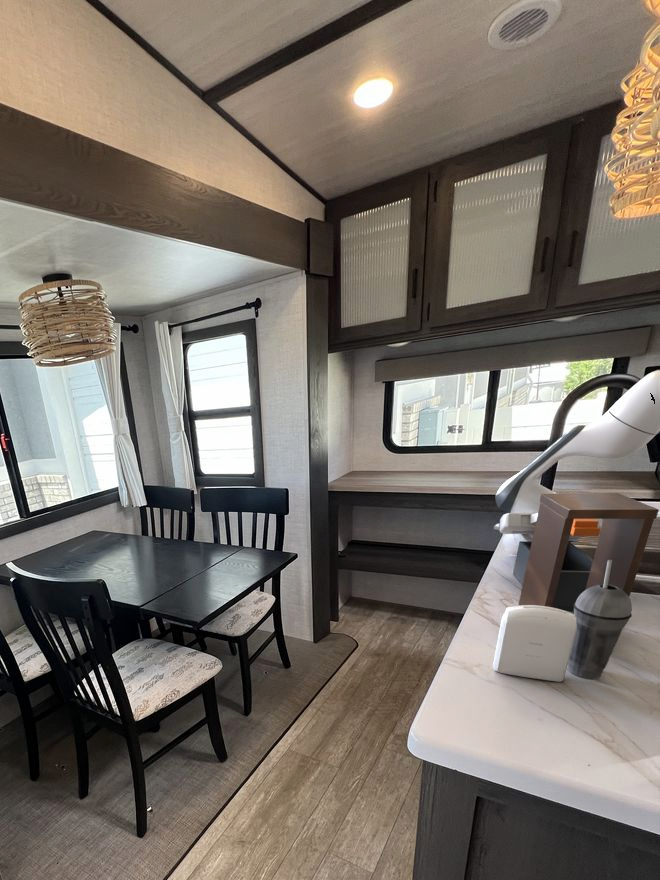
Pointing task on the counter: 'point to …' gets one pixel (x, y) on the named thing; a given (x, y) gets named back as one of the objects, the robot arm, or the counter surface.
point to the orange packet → (585, 527)
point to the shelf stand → (617, 543)
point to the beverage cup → (598, 627)
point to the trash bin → (570, 576)
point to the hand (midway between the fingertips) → (562, 514)
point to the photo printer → (535, 642)
